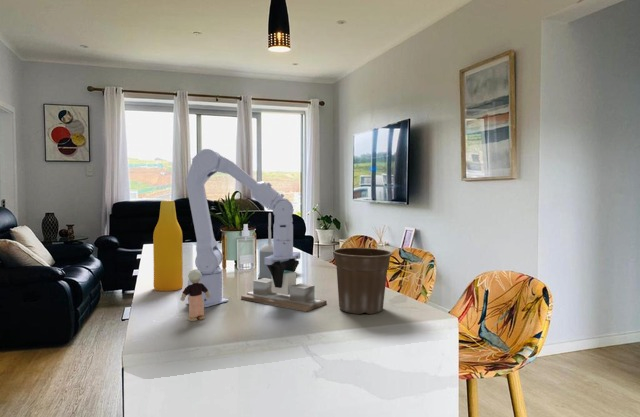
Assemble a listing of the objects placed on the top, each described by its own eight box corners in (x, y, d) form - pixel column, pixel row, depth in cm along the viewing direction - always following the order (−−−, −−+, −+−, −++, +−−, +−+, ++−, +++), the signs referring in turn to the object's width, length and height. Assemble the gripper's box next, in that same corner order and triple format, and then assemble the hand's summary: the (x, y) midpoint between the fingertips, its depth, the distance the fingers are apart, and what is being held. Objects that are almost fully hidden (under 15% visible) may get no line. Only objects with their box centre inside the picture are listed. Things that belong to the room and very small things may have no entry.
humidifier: (283, 284, 158) (283, 212, 157) (279, 289, 150) (279, 213, 149) (260, 283, 159) (260, 212, 158) (254, 288, 151) (254, 213, 150)
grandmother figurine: (203, 314, 119) (202, 266, 119) (212, 317, 117) (211, 268, 116) (177, 321, 113) (176, 270, 113) (186, 324, 111) (186, 272, 110)
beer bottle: (153, 292, 144) (152, 201, 143) (154, 286, 153) (153, 200, 152) (183, 290, 147) (182, 201, 146) (182, 284, 156) (182, 200, 155)
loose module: (287, 295, 130) (287, 273, 130) (271, 292, 133) (271, 270, 133) (296, 292, 133) (296, 271, 133) (280, 289, 137) (280, 269, 136)
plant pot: (400, 306, 129) (400, 250, 128) (377, 320, 115) (377, 257, 114) (348, 299, 137) (349, 246, 136) (321, 311, 123) (322, 252, 122)
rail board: (306, 311, 123) (306, 291, 122) (241, 299, 136) (241, 281, 136) (326, 303, 131) (326, 285, 131) (263, 293, 144) (263, 275, 144)
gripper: (278, 243, 125) (278, 292, 125) (308, 238, 137) (308, 283, 137) (258, 241, 128) (258, 289, 129) (290, 237, 140) (289, 280, 141)
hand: (283, 285), depth 133 cm, fingers closed on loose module, 4 cm apart
